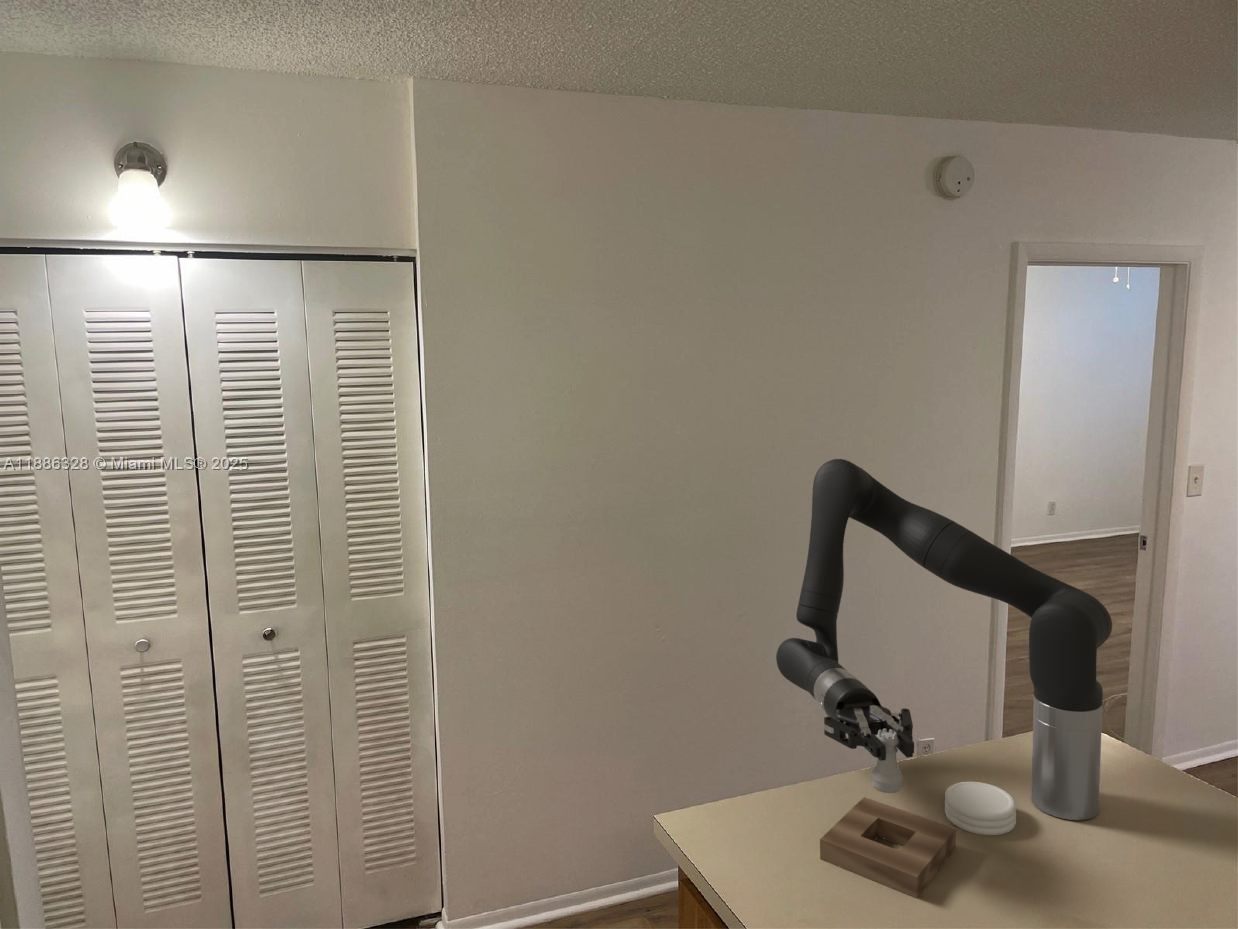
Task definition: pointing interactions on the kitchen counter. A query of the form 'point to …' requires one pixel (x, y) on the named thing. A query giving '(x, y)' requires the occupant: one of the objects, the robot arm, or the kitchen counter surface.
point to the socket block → (883, 864)
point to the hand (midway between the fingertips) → (896, 752)
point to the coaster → (980, 808)
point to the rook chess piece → (887, 765)
